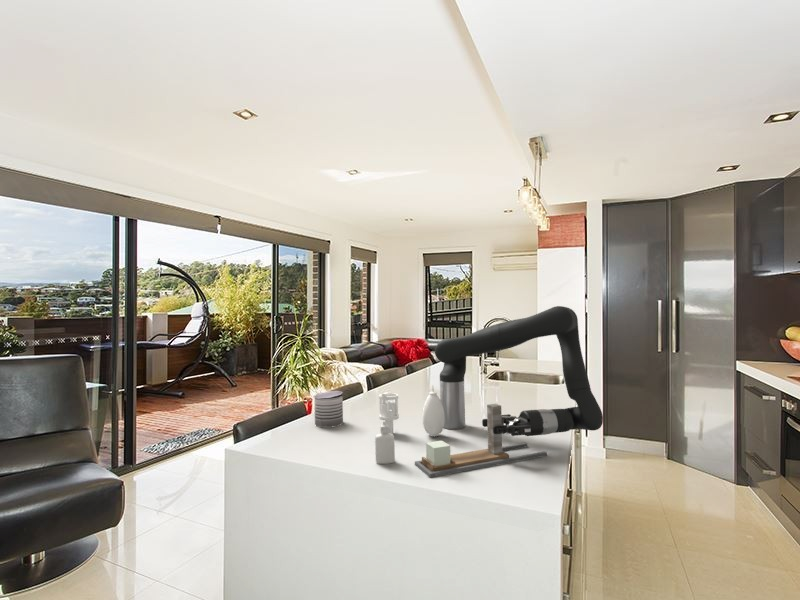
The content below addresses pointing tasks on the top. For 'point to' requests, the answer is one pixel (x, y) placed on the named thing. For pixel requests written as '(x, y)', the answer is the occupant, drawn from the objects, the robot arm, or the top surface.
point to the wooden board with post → (480, 455)
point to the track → (484, 464)
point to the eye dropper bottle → (384, 446)
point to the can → (328, 409)
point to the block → (438, 453)
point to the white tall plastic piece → (389, 409)
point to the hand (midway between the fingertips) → (487, 426)
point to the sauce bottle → (433, 415)
